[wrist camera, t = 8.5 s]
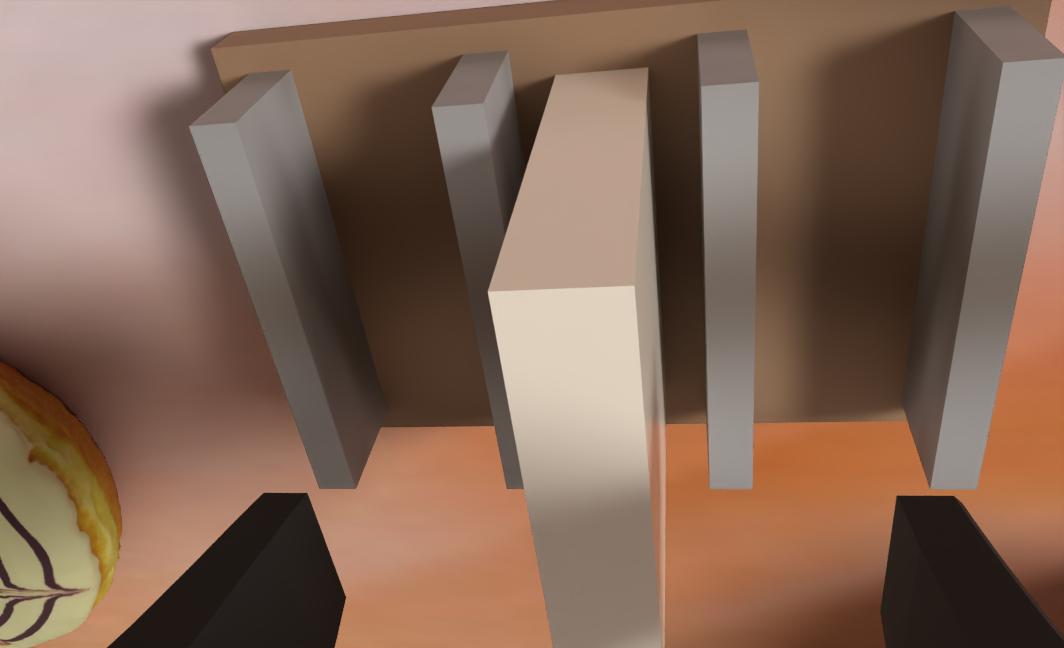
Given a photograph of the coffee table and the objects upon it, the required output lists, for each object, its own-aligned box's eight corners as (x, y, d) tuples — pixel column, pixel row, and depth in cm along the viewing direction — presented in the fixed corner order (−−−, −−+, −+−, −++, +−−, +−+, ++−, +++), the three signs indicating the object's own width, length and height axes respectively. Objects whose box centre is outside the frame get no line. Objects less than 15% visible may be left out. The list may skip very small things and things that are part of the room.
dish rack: (957, 390, 19) (1007, 509, 16) (347, 400, 22) (298, 505, 19) (1035, -46, 14) (1126, 15, 11) (233, 31, 17) (143, 99, 14)
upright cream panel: (666, 388, 19) (663, 680, 13) (591, 389, 19) (558, 676, 14) (648, 67, 15) (634, 285, 9) (555, 74, 15) (487, 292, 10)
